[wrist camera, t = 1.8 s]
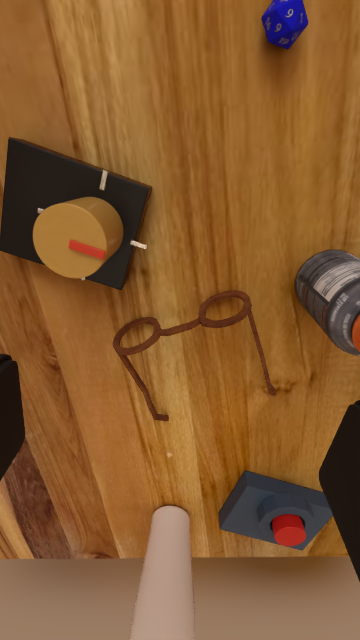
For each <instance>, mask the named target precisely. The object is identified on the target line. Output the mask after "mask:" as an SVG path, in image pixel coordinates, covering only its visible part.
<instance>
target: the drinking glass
mask: <svg viewBox="0 0 360 640" xmlns="http://www.w3.org/2000/svg"><path fill="white" fill-rule="evenodd" d="M194 609H195V608H194V591H193V576H192V560H191V543H190V518H189V515H188V514H187V512H186V511H185V510H183V509H182V508H180V507H177V506H163V507H160V508H158V509H157V510H156V511H155V512H154V513H153V516H152V520H151V527H150V533H149V538H148V543H147V548H146V553H145V558H144V562H143V567H142V572H141V577H140V581H139V586H138V591H137V595H136V601H135V605H134V611H133V617H132V624H131V630H130V639H129V640H195V610H194Z"/></svg>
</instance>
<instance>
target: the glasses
mask: <svg viewBox="0 0 360 640" xmlns="http://www.w3.org/2000/svg"><path fill="white" fill-rule="evenodd" d="M230 297H235V298H240V299H241V300H243V301H244V307H243V309H242V310H241V311H240V312H239V313H238V314H236V315H235V316H233V317H230V318H228V319H224V320H218V321H214V320H209V319H207V318H206V317H205V314H206V310H207V308H208V307H209V306H210V305H211V304H213V303H214V302H216V301H218V300H221V299H225V298H230ZM251 306H252V305H251V301H250V298H249V296H248V295H247V294H246V293H244V292H241V291H227V292H223V293H219V294H217V295H214V296H212V297H210V298H209V299H207V300H206V301H205V302H203V304H202V305H201V307H200V309H199V318H197V319H195V320H193V321H191V322H189V323H185V324H182V325H179V326H175V327H172V328H169V329H162V330H161V328H160V325H159V323H158V321H157V319H155V318H152V317H146V318H141V319H137V320H135V321H132V322H130V323H128V324H127V325H125V326H124V327H123V328H121V329H120V330H119V331H118V333H117V334H116V336H115V338H114V340H113V347H114V349H115V351H116V352H117V354H118V355H119V357H120V358H121V360H122V361H123V363H124V365H125V366H126V368H127V369H128V371H129V372H130V374H131V375H132V377H133V378H134V380H135V382H136V383H137V385H138V386H139V388H140V389H141V391H142V392H143V394H144V397H145V400H146V402H147V405H148V407H149V410H150V412H151V414H152V416H153V418H154V420H161V421H169V417H168V415H162V414H157V412H156V409H155V407H154V405H153V403H152V401H151V398H150V396H149V393H148V390H147V388H146V386H145V385H144V383H143V381H142V380H141V378H140V377H139V375H138V374H137V372H136V370H135V369H134V367H133V366H132V364H131V362H130V361H129V359H128V358H127V356H126V355H132V354H136V353H139V352H141V351H143V350H145V349H147V348H149V347H150V346H151V345H153V344H154V343H155V342H156V341H157V340H158V339H159V338H160V336H170V335H174V334H177V333H180V332H184V331H187V330H190V329H193V328H195V327H196V326H198V325H199V324H202V326H205V327H210V328H222V327H226V326H230V325H233V324H235V323H237V322H239V321H241V320H243V319H244V318H245V317H246V316H247V315H248V317H249V321H250V324H251V328H252V331H253V334H254V338H255V341H256V345H257V348H258V351H259V355H260V358H261V363H262V367H263V371H264V375H265V379H266V383H267V387H268V390H269V391H270V393H271V394H272V395H276V392H275V389H274V387H273V386H272V385H271V383H270V379H269V375H268V370H267V366H266V361H265V357H264V354H263V350H262V347H261V343H260V340H259V336H258V333H257V329H256V326H255V322H254V319H253V315H252V312H251ZM142 324H152V325H154V332H153V334H152V336H151V337H150V338H149V339H148V340H146V341H145V342H144V343H142V344H140V345H138V346H135V347H131V348H123V347H121V346H120V341H121V339H122V337H123V335H124V334H125V333H126V332H127V331H129V330H130V329H132V328H134V327H136V326H138V325H142Z"/></svg>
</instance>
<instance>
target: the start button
mask: <svg viewBox="0 0 360 640" xmlns="http://www.w3.org/2000/svg"><path fill="white" fill-rule="evenodd" d="M272 528H273V533H274V537H275V540H276V542H277V543H279V544H281V545H284V546H295V545H298V544H300V543H302V542H303V541H304V540H305V539H306V533H305V529H304V526H303V523H302V520H301V518H300V517H299V516H298V515H294V514H283V515H279V516H277V517H275V518H273V520H272Z"/></svg>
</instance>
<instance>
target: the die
mask: <svg viewBox="0 0 360 640" xmlns="http://www.w3.org/2000/svg"><path fill="white" fill-rule="evenodd" d="M262 22H263V25H264V29H265V32H266V35H267V39H268V42H269V43H272V44H275V45H277V46H280V47H283V48H285V49H289V48H290V47H291V46H292V44H293V43H294V42H295V40H296V39H297V38H298V37H299V35H300V34H301V33H302V31H303V30H304V29H305V27H306V26H307V25H308V19H307V15H306V12H305V8H304V4H303V1H302V0H273V1H272V3H271V4H270V6H269V7H268V9H267V10H266V12H265V13H264V15H263V16H262Z"/></svg>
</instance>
